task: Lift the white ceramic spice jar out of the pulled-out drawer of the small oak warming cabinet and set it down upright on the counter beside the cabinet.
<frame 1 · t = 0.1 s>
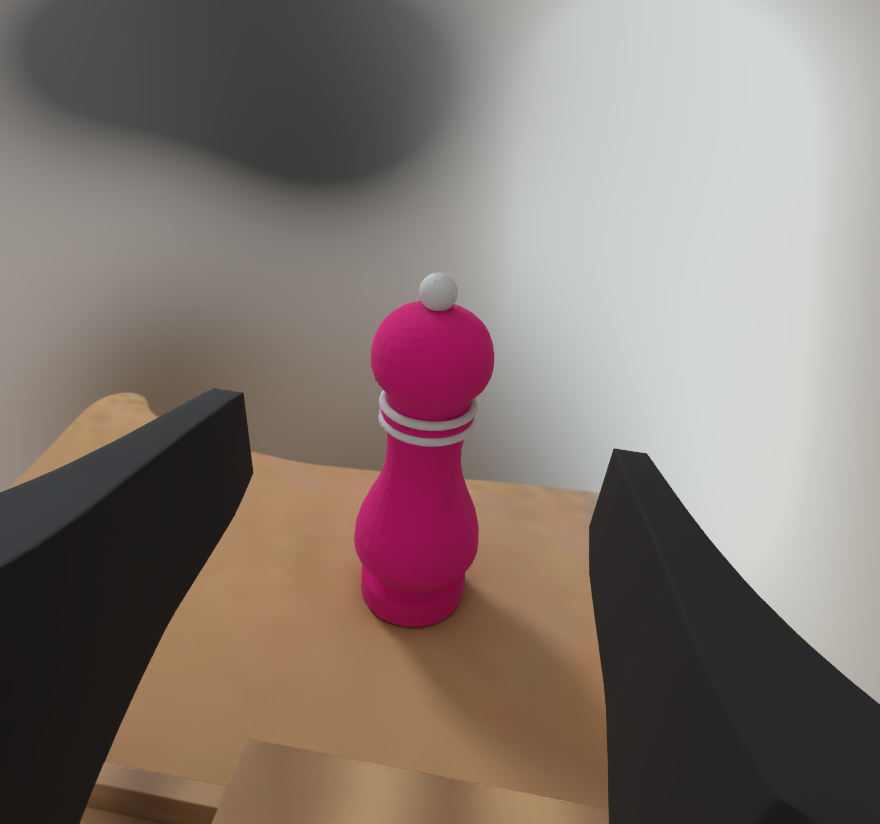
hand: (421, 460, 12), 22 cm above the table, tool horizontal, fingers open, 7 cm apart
pepper mill: (411, 590, 38), on the table
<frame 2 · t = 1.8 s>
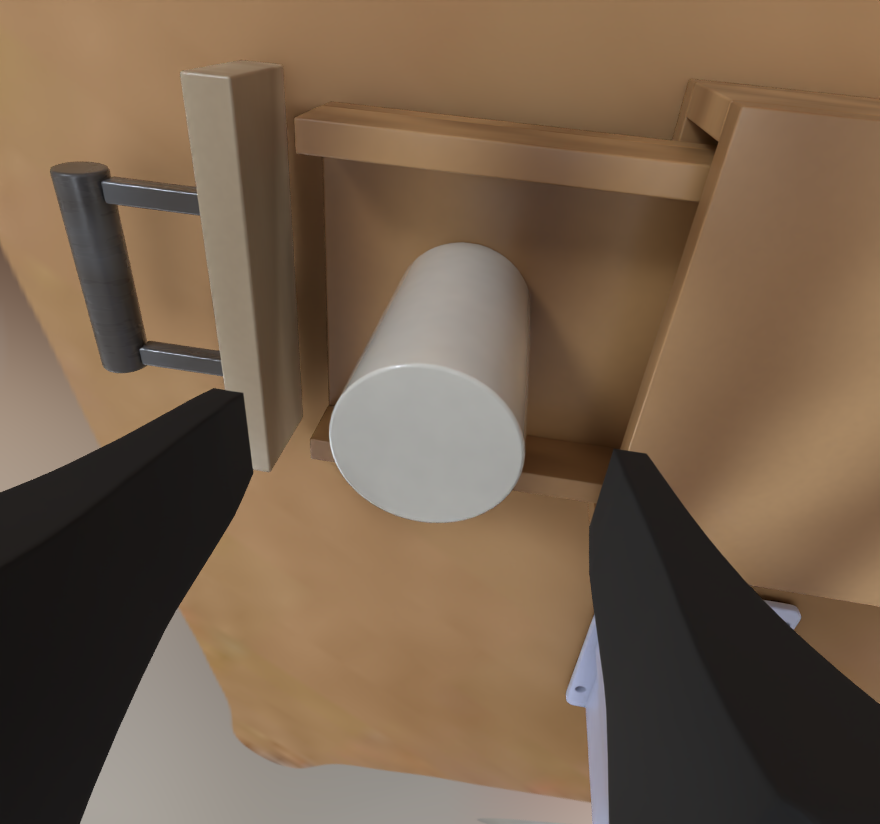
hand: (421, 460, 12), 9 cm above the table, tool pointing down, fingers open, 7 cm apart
drawer: (386, 305, 18), point 3 cm above the table, slide at 10.5 cm, touching spice jar
cabinet: (864, 335, 19), on the table
spice jar: (463, 308, 18), point 2 cm above the table, touching drawer
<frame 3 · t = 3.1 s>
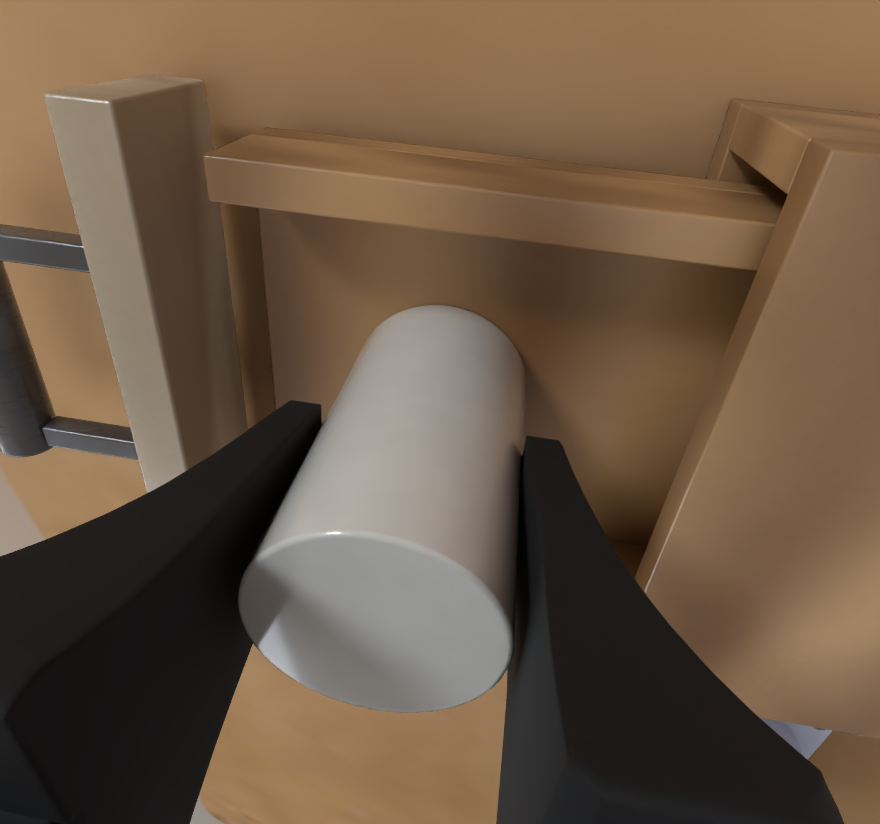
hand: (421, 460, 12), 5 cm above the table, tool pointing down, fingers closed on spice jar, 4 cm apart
drawer: (343, 380, 14), point 3 cm above the table, slide at 10.5 cm, touching spice jar
spice jar: (441, 381, 14), point 2 cm above the table, touching drawer, gripper
when the fingers open (3 cm above the table, at t = 8.5 s): spice jar stays where it is, on the table.
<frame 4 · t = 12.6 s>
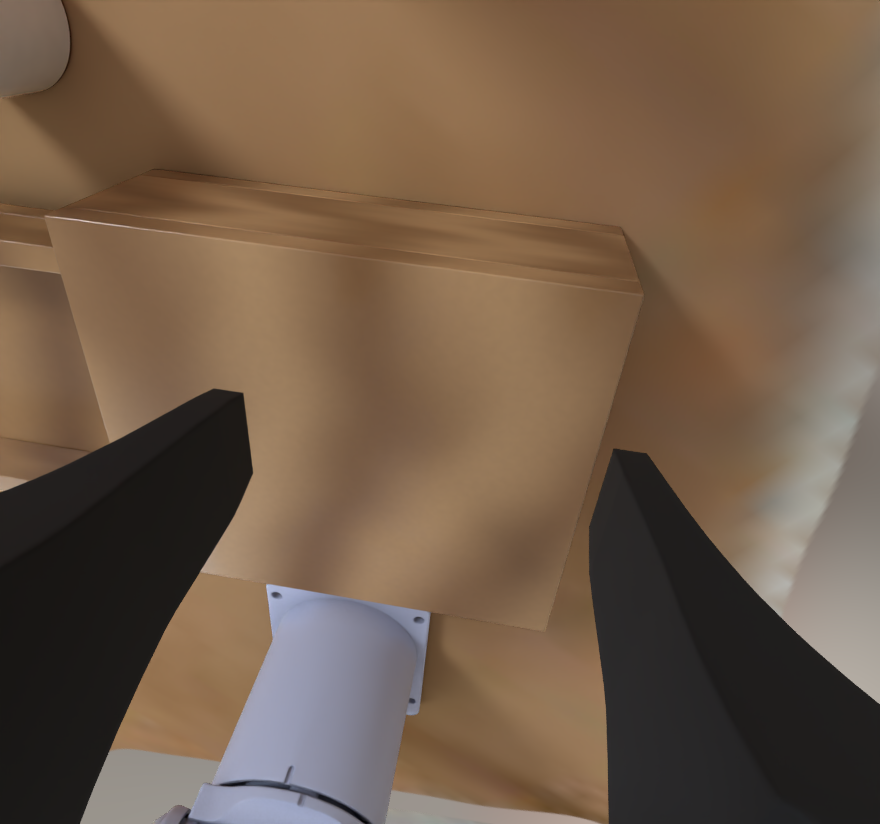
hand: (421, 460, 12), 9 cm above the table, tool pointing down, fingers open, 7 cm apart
cabinet: (376, 373, 22), on the table
spice jar: (2, 13, 17), on the table
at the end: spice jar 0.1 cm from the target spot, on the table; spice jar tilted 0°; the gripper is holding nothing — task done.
